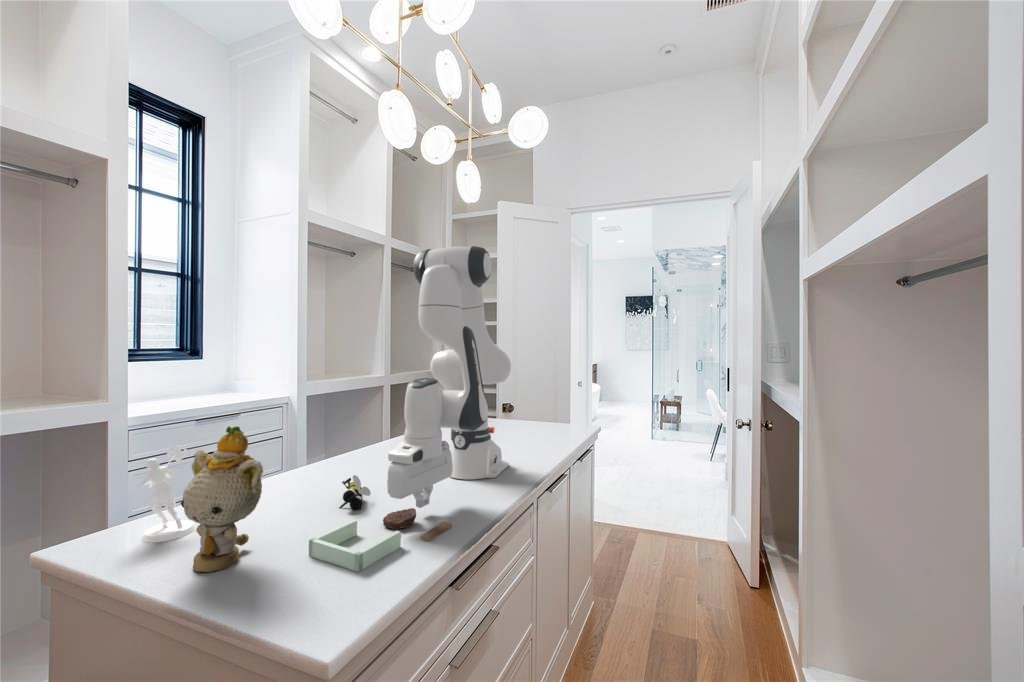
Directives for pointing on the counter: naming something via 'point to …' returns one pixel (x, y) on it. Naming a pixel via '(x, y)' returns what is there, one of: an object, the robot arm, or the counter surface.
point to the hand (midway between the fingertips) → (422, 505)
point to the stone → (400, 519)
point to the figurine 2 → (222, 499)
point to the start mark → (435, 531)
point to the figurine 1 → (164, 501)
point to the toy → (354, 493)
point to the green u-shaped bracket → (348, 558)
